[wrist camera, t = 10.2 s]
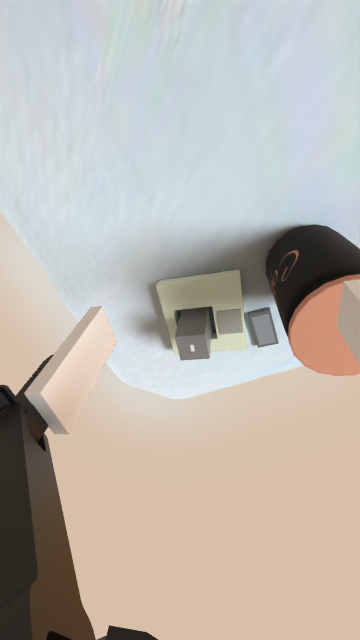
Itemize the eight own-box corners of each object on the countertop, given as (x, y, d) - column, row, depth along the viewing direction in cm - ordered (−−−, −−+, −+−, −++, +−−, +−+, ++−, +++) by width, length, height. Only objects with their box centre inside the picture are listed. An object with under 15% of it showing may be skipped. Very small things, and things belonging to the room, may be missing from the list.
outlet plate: (158, 280, 43) (155, 286, 42) (239, 269, 40) (240, 275, 39) (176, 347, 50) (174, 355, 49) (246, 342, 48) (247, 350, 46)
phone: (247, 312, 44) (248, 315, 44) (269, 307, 43) (270, 310, 42) (257, 344, 48) (258, 348, 47) (277, 340, 46) (278, 343, 46)
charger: (181, 309, 46) (174, 337, 39) (207, 306, 45) (204, 334, 38) (186, 330, 48) (180, 360, 41) (211, 328, 47) (209, 358, 40)
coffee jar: (270, 221, 36) (303, 274, 21) (355, 222, 35) (452, 279, 20) (259, 292, 42) (279, 372, 27) (331, 294, 41) (394, 381, 26)
